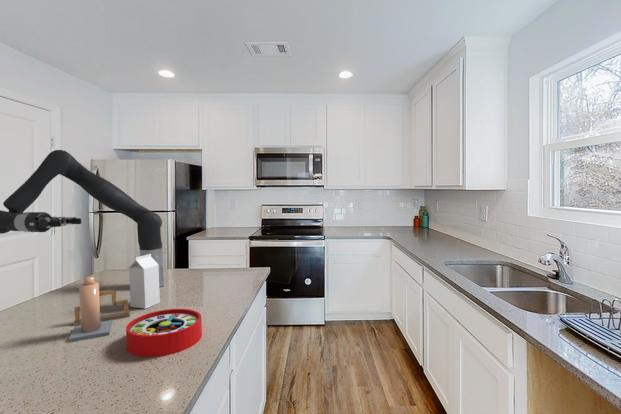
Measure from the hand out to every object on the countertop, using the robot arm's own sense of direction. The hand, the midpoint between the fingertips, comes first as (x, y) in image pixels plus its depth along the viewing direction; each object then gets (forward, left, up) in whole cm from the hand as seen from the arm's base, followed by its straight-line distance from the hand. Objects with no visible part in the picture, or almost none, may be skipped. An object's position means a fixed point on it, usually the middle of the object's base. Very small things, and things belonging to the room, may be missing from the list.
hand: (70, 222), depth 123 cm
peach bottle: (-8, +29, -31) cm, 43 cm away
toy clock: (-29, +45, -32) cm, 63 cm away
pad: (-8, +29, -32) cm, 44 cm away
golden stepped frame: (-10, +19, -32) cm, 39 cm away
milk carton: (-23, +10, -32) cm, 41 cm away
